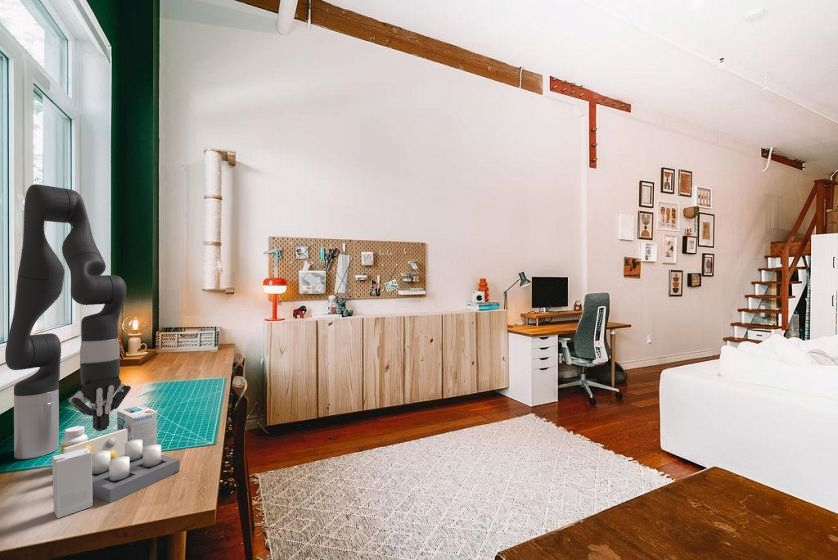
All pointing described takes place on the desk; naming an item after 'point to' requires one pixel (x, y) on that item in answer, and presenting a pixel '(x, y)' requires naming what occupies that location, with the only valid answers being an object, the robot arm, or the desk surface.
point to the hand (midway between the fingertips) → (101, 429)
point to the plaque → (104, 444)
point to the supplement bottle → (73, 437)
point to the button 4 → (151, 455)
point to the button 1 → (100, 461)
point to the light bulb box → (139, 424)
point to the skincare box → (72, 482)
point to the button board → (133, 479)
